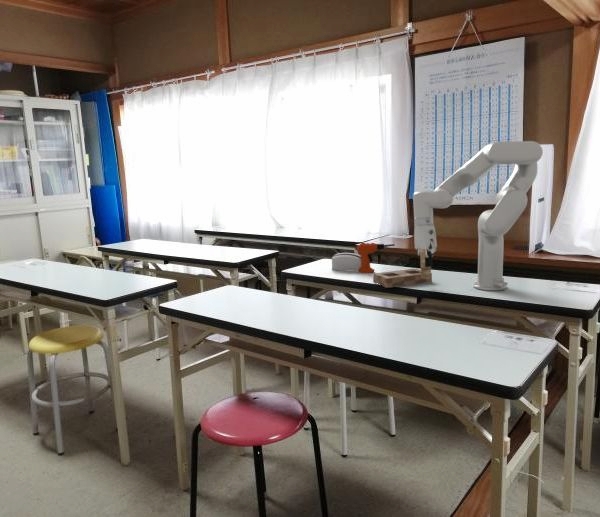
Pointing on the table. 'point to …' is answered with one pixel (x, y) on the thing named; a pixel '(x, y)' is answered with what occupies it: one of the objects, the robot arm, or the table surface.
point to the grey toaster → (346, 261)
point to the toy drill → (365, 257)
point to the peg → (424, 270)
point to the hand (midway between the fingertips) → (425, 265)
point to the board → (400, 278)
